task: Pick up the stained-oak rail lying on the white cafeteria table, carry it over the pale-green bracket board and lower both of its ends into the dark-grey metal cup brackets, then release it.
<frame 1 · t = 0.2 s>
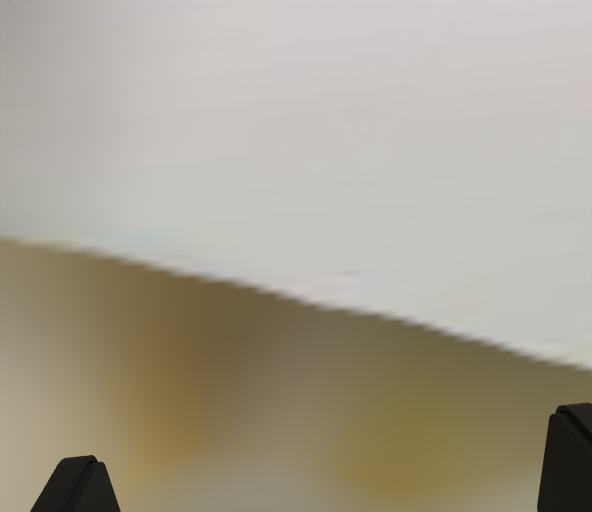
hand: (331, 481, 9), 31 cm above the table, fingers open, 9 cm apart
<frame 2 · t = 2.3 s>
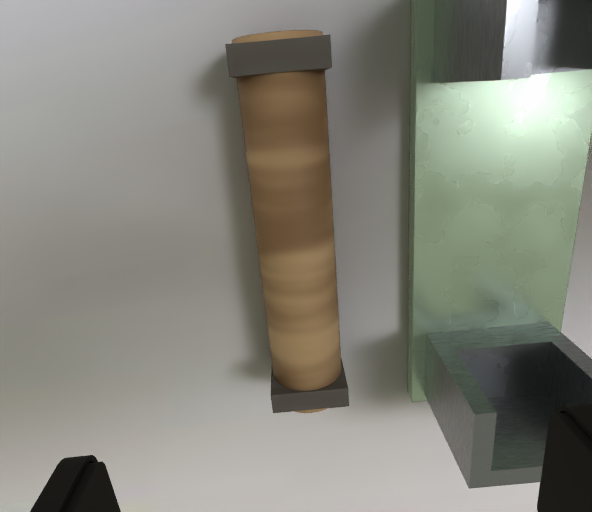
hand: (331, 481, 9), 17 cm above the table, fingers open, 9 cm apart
bracket board: (488, 210, 25), on the table
rail: (294, 227, 25), on the table
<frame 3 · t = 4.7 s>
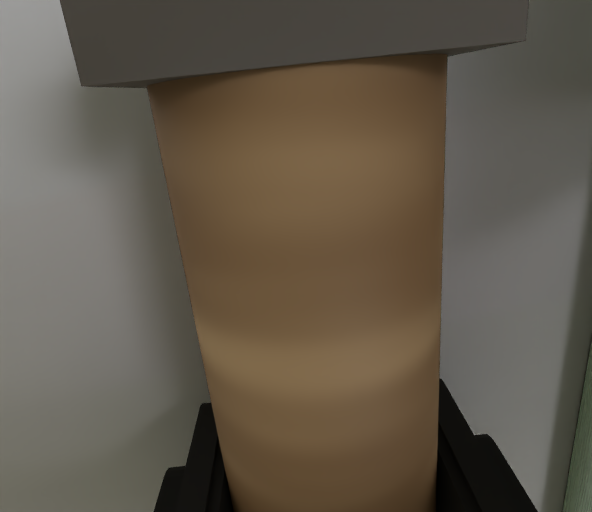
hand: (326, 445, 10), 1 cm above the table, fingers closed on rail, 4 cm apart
rail: (323, 421, 11), on the table, touching gripper
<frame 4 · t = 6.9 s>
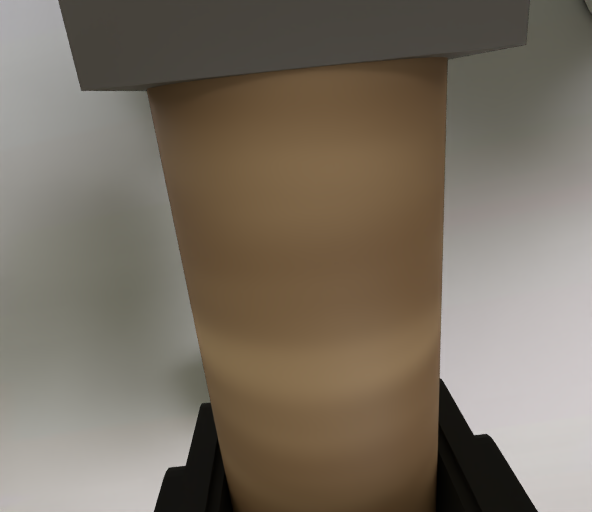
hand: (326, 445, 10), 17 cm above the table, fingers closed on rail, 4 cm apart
rail: (323, 423, 11), point 16 cm above the table, touching gripper
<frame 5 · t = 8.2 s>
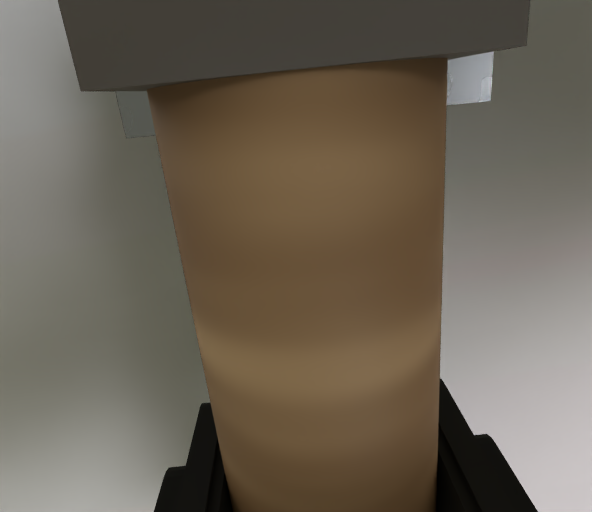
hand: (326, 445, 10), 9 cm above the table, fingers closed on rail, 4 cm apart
bracket board: (311, 275, 19), on the table
rail: (323, 424, 11), point 9 cm above the table, touching gripper
when the fingers open (5 cm above the table, at t = 9.3 s): rail drops 1 cm, resting on bracket board.
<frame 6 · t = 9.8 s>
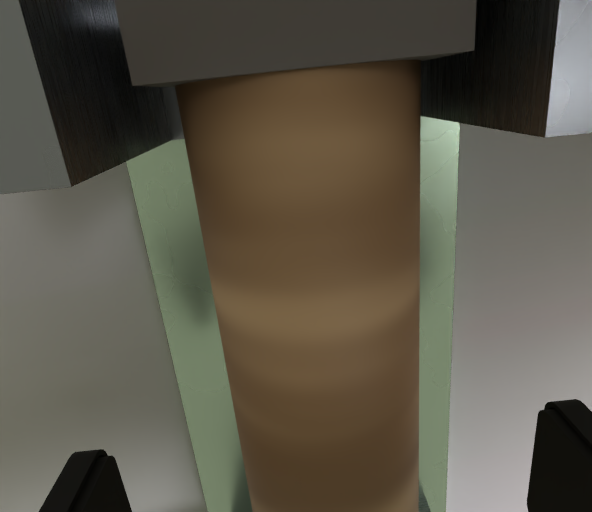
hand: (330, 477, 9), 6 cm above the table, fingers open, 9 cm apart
bracket board: (310, 332, 15), on the table
rail: (321, 387, 12), point 3 cm above the table, touching bracket board
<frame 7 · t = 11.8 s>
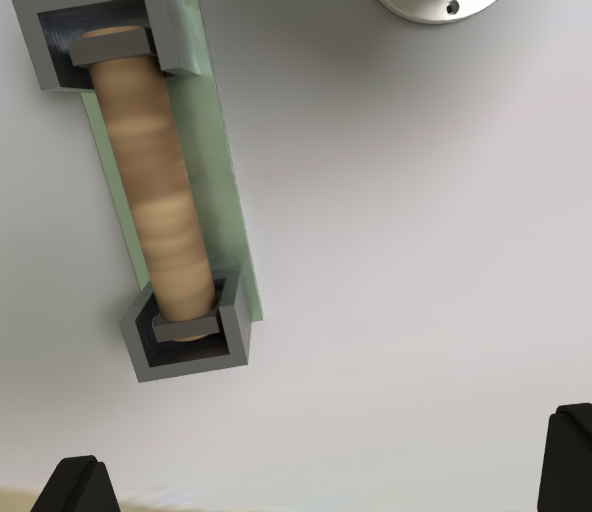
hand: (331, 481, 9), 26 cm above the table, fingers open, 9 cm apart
bracket board: (175, 183, 33), on the table
rail: (167, 190, 30), point 3 cm above the table, touching bracket board
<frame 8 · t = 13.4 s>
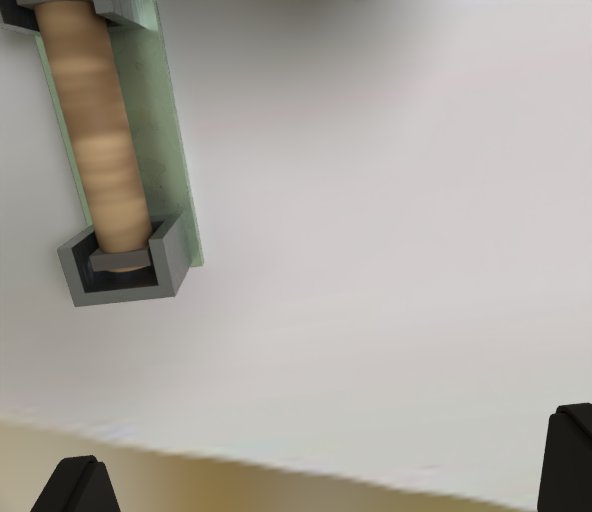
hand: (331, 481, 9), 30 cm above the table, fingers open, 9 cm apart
bracket board: (123, 130, 35), on the table
rail: (111, 133, 33), point 3 cm above the table, touching bracket board
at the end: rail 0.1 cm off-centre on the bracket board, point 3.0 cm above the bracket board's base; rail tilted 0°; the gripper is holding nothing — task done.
